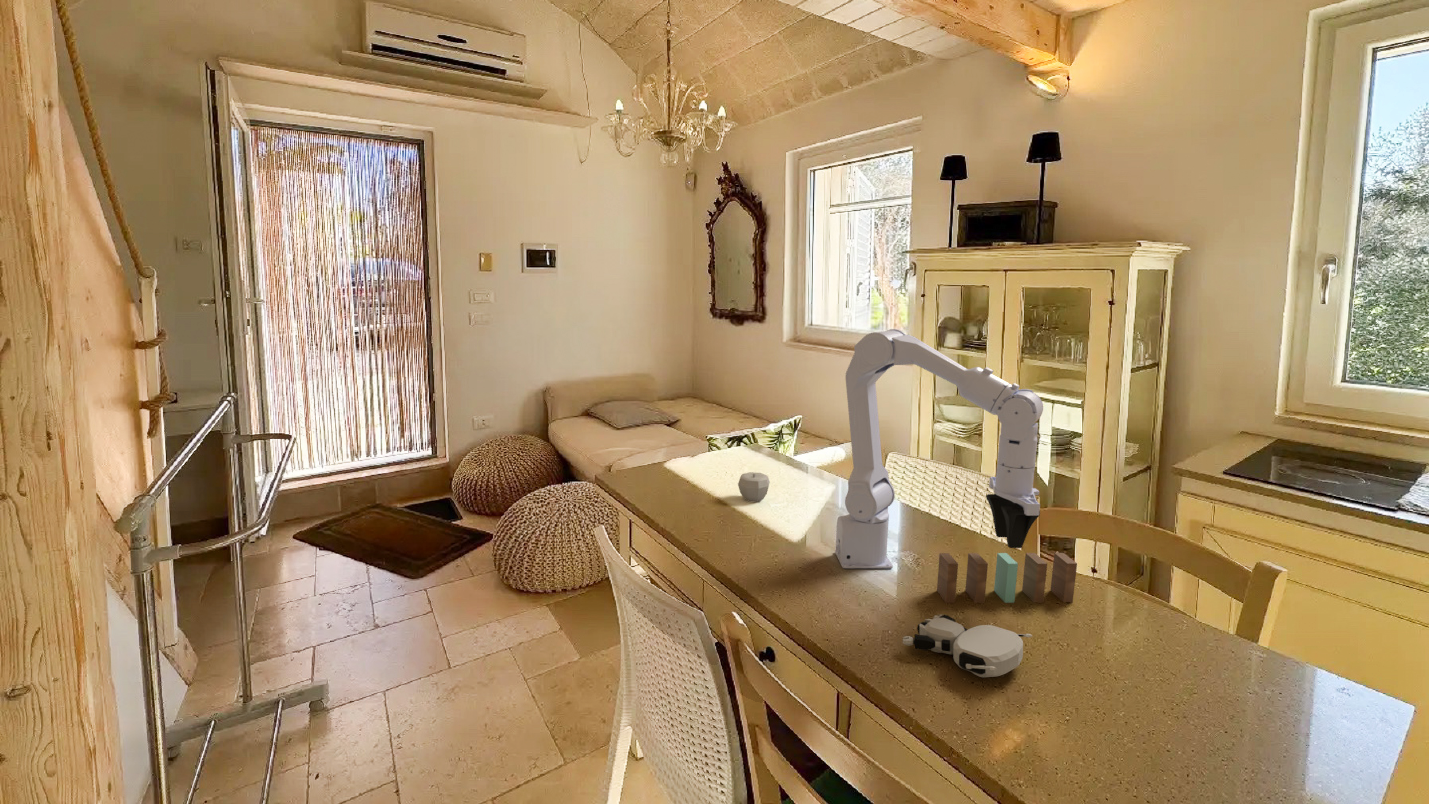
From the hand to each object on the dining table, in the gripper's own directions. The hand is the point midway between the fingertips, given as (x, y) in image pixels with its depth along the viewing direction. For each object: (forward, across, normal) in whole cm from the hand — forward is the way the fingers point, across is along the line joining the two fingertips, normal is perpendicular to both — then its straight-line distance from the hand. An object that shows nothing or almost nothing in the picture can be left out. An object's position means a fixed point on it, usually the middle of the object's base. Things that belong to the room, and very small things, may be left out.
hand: (1008, 541), depth 117 cm
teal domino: (+10, 0, 0) cm, 10 cm away
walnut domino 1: (+10, 0, +10) cm, 14 cm away
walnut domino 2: (+10, 0, +5) cm, 11 cm away
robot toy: (+10, -19, +14) cm, 26 cm away
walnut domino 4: (+10, 0, -10) cm, 14 cm away
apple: (+10, +51, +39) cm, 65 cm away
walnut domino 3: (+10, 0, -5) cm, 11 cm away
